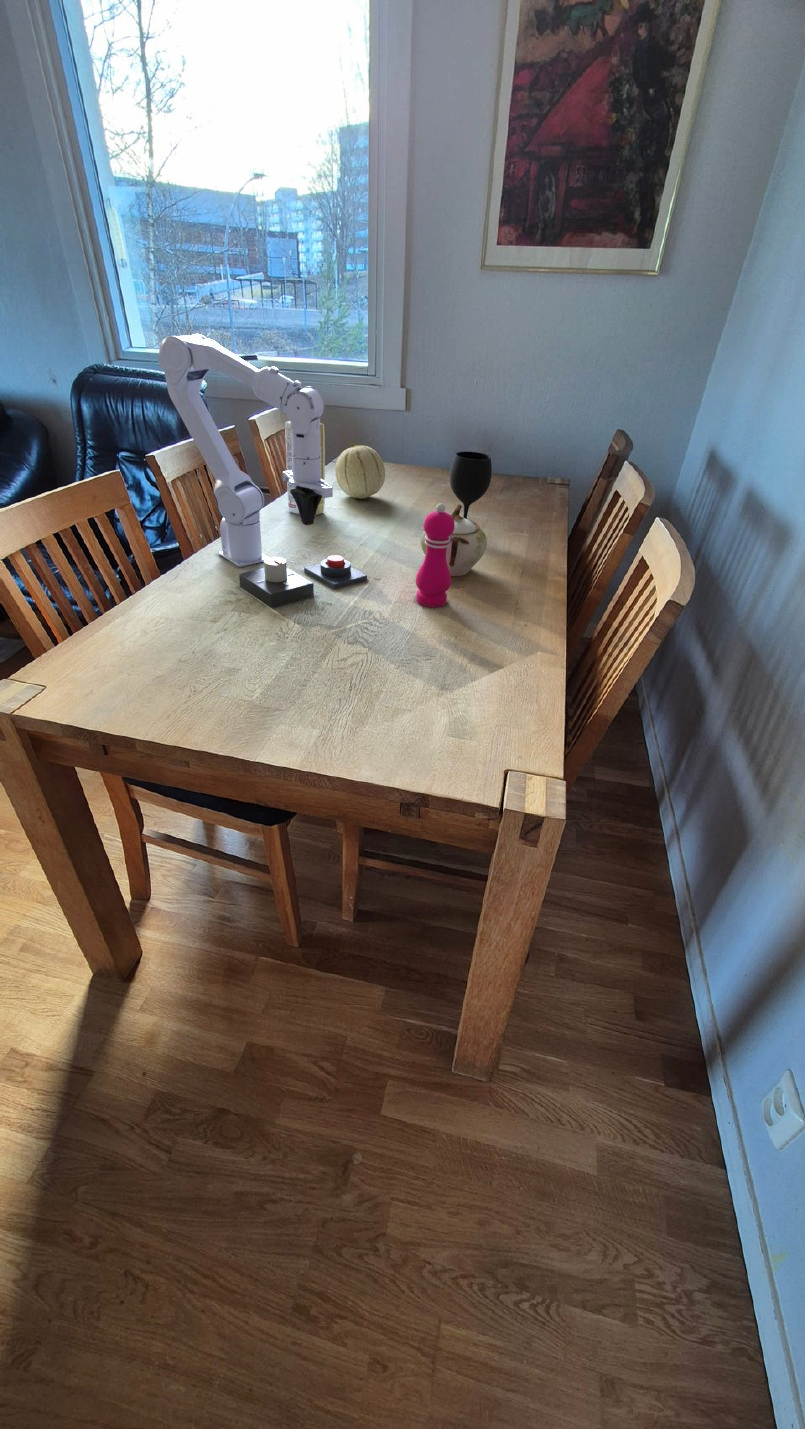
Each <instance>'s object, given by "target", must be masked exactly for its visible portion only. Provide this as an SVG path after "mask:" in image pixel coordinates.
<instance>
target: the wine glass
mask: <svg viewBox="0 0 805 1429" xmlns="http://www.w3.org/2000/svg"><path fill="white" fill-rule="evenodd" d="M492 473H493V469H492V458H491V455H489V454H486V453H482V452H479V451H469V450H468V451H466V450H465V451H464V450H463V451H458V452H456V453H455V454H454V456H453V460H452V463H451V466H450V471H449V486H450V488H451V490H452V492H453V495H455V497H456V498H457V499H458V501H460V502H461V503H462V505H463V517H462V518H465V519H468V513H469V509H470V506H471V505H472V504H474V503H476V502H477V501H478V500H480V499H481V498H482V497H483V496H484V495H485V494H486V492H487V491H488V489H489V487H490V484H491V481H492Z"/></svg>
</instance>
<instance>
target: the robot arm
mask: <svg viewBox="0 0 805 1429" xmlns="http://www.w3.org/2000/svg"><path fill="white" fill-rule="evenodd" d="M157 361H158V363H159V365H160V368H161V369H162V371H163V372H164V378H165V383H166V388H167V392H168V395H169V398H170V399H171V402H172V403H173V405H174V407H175V409H176V410H177V412H178V414H179V416H180V418H181V419H182V422H183V424H184V425H185V428H186V429H187V431H188V432H189V435H190V437H191V438H192V440H193V442H194V444H195V446H196V447H197V450H198V451H199V453H200V454H201V457H202V458H203V460H204V462H205V464H206V466H207V467H208V470H209V471H210V473H211V475H212V476H213V478H214V480H215V484H214V487H213V488H214V489H213V495H214V496H215V499H216V501H217V507H218V511H219V514H220V515H221V517H222V518H221V521H220V523H219V531H220V532H219V533H220V541H221V542H220V543H221V551H218V555H219V556H221V557H222V558H224V559H226V560H228V561H229V562H231V563H232V564H233V565H235V566H237V567H239V568H241V567H246V566H251V565H254V564H260V563H264V560H265V559H266V558H270V557H269V556H268V555H266V554H264V553H263V548H262V533H261V513H260V511H261V510H262V509H263V508H264V505H265V496H264V493H263V492H262V490H261V489H260V487H258V486H257V485H256V484H255V483H254V482H253V480H252V478H251V476H250V475H249V474H247V473H245V472H244V471H242V470H241V469H240V468H239V467H238V465H237V463H236V461H235V459H234V457H233V455H232V453H231V451H230V449H229V448H228V446H227V444H226V442H225V440H224V438H223V436H222V435H221V432H220V430H219V428H218V427H217V424H216V423H215V421H214V419H213V417H212V415H211V414H210V412H209V410H208V408H207V406H206V404H205V402H204V400H203V398H202V396H201V394H200V392H201V388H202V384H203V381H204V380H205V378H206V376H207V374H208V373H209V371H211V370H212V369H213V370H217V371H218V372H220V373H222V374H225V375H226V376H228V377H231V378H232V379H235V380H236V381H238V382H241V383H243V384H245V385H247V386H248V387H251V388H252V390H253V393H254V396H255V397H256V398H257V399H259V400H261V401H263V402H265V404H266V403H267V404H268V405H269V406H272V407H274V408H275V409H277V410H279V411H281V412H282V413H285V415H286V417H287V418H288V421H290V422H291V443H292V471H287V470H285V471H283V470H282V481H283V482H285V483H287V482H289V484H290V485H292V486H296V487H295V489H291V490H290V493H291V494H292V496H293V498H294V500H295V502H296V504H297V507H298V510H299V513H300V514H299V517H300V520H301V524H302V525H304V526H310V525H314V524H315V519H316V516H317V515H316V511H317V508H318V505H319V503H320V501H321V499H322V497H323V498H325V499H328V498H333V496H334V495H333V494H334V487H333V486H332V485H329V484H328V483H327V482H326V480H325V481H323V480H322V479H321V433H320V423H321V417H322V416H323V414H324V413H325V412H324V411H325V406H326V405H325V399H324V397H323V395H322V394H321V392H320V391H319V390H317V389H316V388H315V387H314V386H310V385H309V386H304V387H303V386H302V382H301V381H299V380H294V381H293V380H292V379H290V378H289V377H287V376H285V375H283V374H281V373H280V369H279V368H277V367H276V366H271V367H268V366H264V367H262V368H261V369H259V368H257V367H255V365H252V364H250V363H249V362H248V361H246V360H244V359H243V358H241V357H240V356H238V355H236V354H235V353H233V352H231V351H230V350H228V349H227V348H225V347H223V346H222V345H220V344H219V343H218V342H217V341H215V340H213V339H211V338H207V337H206V336H204V335H203V334H201V333H200V334H199V333H193V334H191V335H179V336H178V335H177V336H176V335H168V336H166V337H164V339H163V340H162V341H161V343H160V347H159V351H158V356H157Z"/></svg>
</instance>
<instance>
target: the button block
mask: <svg viewBox="0 0 805 1429" xmlns="http://www.w3.org/2000/svg"><path fill="white" fill-rule="evenodd" d="M303 572H304V573H305V574H306V575H308V576H310V577H312V578H314V579H316V580H317V581H319V582H320V583H322V584H324V585H325V586H327V587H330V588H331V589H333V590H337V589H341V588H344V587H347V586H351V585H356V584H358V583H361V582H365V581H367V580H368V574H365V573H364V572H362V571H360V570H359V569H356V568H354V567H353V566H352V564H351V562H350V560H348V559H346V558H344V566H342V567H331V566H328V565H327V558H324V559H322V560H321V561H320V563H316V564H311V565H308V566H304V567H303Z"/></svg>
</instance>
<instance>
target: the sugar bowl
mask: <svg viewBox="0 0 805 1429" xmlns="http://www.w3.org/2000/svg"><path fill="white" fill-rule="evenodd" d="M462 508H463V506H462V504H459V503H458V504H457V505H456V507H455V509H454V511H453V512H452V513H451V514H450V515H451V516H452V517H453V520H454V524H455V527H454V531H453V533H452V534H451V535H450V536H449V537H450V539H451V540H450V546H449V547H447V551H446V561H447V565H448V568H449V572H450V576H451V577H460V576H461V577H462V576H465V575H467V574H468V573H469V572H470V571H471V570H472V569H473V567H475V565H476V564H477V563H478V562H479V561H480V560H481V559H482V557H483V556H484V554H485V553H486V551H487V547H488V539H487V536H486V533H485V531H483V529H482V528H481V527H480V525H479V524H478V523H477V522H476V521H473V520H470V519H468V518H467V519H465V518H463V517H462V516H461V515H460V513H461V510H462ZM426 535H427V534H426V532H425V531H424V530H423V531H422V534H421V536H420V546H421V550H422V552H423V554H424V557H425V556H426V544H425V536H426Z"/></svg>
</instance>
